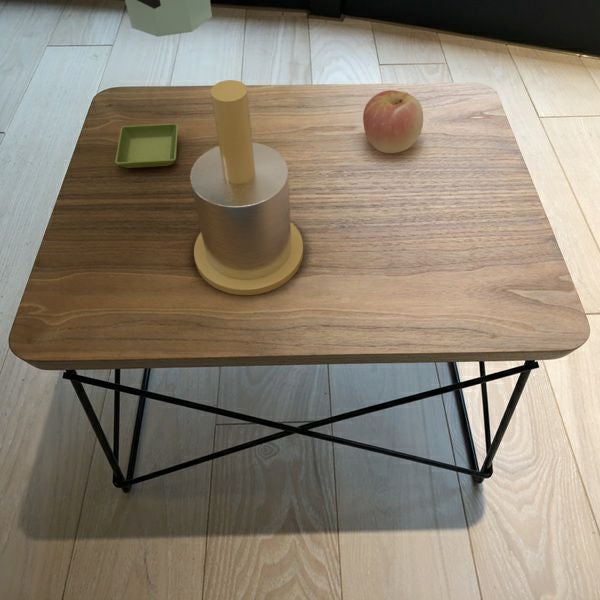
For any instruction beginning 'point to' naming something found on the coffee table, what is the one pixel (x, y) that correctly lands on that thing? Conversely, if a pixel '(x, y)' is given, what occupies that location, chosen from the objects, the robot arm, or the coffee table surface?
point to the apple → (393, 121)
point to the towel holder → (243, 205)
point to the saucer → (147, 145)
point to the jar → (169, 16)
